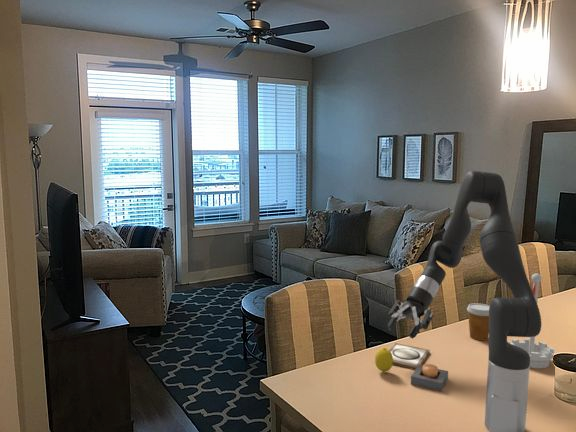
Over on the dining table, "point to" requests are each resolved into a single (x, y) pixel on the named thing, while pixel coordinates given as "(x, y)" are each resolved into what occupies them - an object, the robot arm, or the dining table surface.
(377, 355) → the lemon
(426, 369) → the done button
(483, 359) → the dining table surface
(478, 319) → the disposable coffee cup
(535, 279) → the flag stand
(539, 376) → the dining table surface
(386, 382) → the dining table surface
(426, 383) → the button housing
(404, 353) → the drawing board
